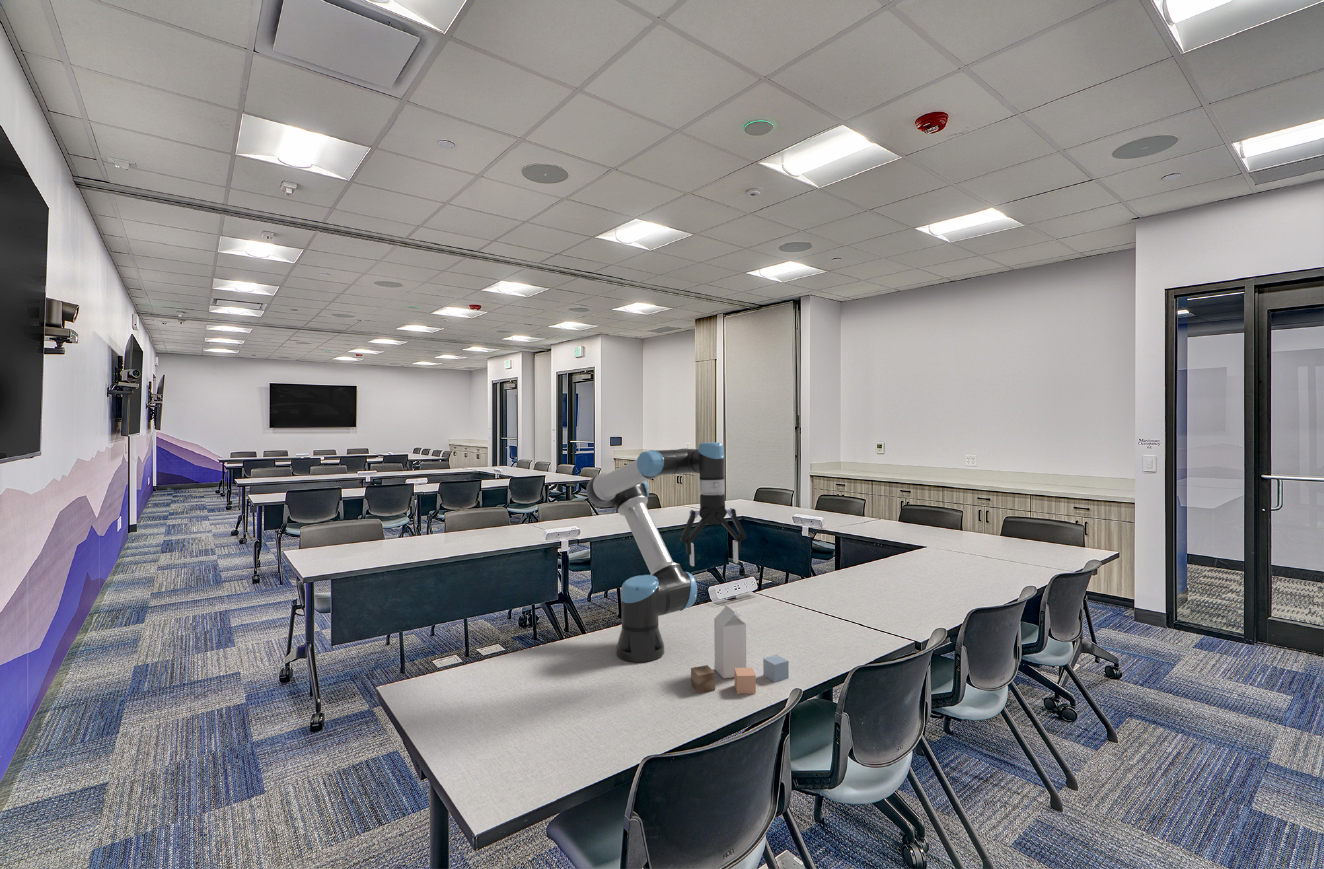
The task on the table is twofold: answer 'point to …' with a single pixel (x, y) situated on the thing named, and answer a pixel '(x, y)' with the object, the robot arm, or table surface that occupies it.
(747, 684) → the terracotta cube
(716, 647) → the milk carton
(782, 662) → the slate cube
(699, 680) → the walnut cube
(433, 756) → the table surface
